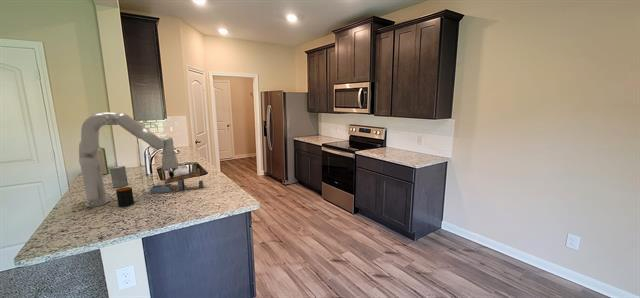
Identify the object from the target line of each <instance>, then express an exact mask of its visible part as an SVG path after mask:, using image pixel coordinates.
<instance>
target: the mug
mask: <svg viewBox="0 0 640 298" xmlns="http://www.w3.org/2000/svg"><path fill="white" fill-rule="evenodd" d="M115 192H116V200H117V206H118V207H119V208H126V207H130V206H133V205H134V204H135V201H134V200H135V199H134V194H133V193H134V192H133V188H132V187H130V186H124V187H122V188H117V189H116V190H115Z"/></svg>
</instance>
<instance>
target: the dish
mask: <svg viewBox="0 0 640 298" xmlns="http://www.w3.org/2000/svg"><path fill="white" fill-rule="evenodd" d="M162 186H167V187H163V188H162ZM172 188H173V184H172V183H169V184H165V183H163V184H154V185H152V186H151V187H150V188H149V195H154V194H155V195H156V193H157V194H164V193H165V192H166V193H171V191H172V190H173V189H172ZM171 189H172V190H171ZM166 193H165V194H166Z"/></svg>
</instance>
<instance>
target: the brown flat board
mask: <svg viewBox="0 0 640 298" xmlns="http://www.w3.org/2000/svg"><path fill="white" fill-rule="evenodd" d="M199 176H201V170H200V168H197V169H196V171H194V172H193V171H192V172H189V173H185V174H180V175H178V176H177V175H175V174H174V176H173V177H171V178H170V176H169V177H167V178H166V180H164V181H163V184H172V183H176V182H177V183H178V181H177V180H184V181H185V180H188V179H192V178H196V177H199Z"/></svg>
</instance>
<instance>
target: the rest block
mask: <svg viewBox="0 0 640 298" xmlns="http://www.w3.org/2000/svg"><path fill="white" fill-rule="evenodd" d="M202 187H203V188H204V181H203V180H199V181H198V188H199V189H203V188H202Z"/></svg>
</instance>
